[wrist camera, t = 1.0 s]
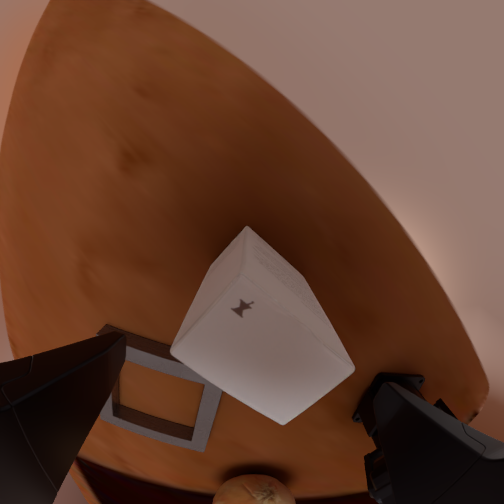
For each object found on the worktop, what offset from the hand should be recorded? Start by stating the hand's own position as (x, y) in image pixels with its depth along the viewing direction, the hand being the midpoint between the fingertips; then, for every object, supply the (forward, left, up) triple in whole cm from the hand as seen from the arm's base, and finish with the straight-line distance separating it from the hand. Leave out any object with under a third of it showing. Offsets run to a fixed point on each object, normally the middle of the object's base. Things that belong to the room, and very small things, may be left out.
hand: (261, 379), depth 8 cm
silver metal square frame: (+6, +14, -13) cm, 20 cm away
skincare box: (0, 0, -13) cm, 13 cm away
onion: (-7, +27, -13) cm, 31 cm away
